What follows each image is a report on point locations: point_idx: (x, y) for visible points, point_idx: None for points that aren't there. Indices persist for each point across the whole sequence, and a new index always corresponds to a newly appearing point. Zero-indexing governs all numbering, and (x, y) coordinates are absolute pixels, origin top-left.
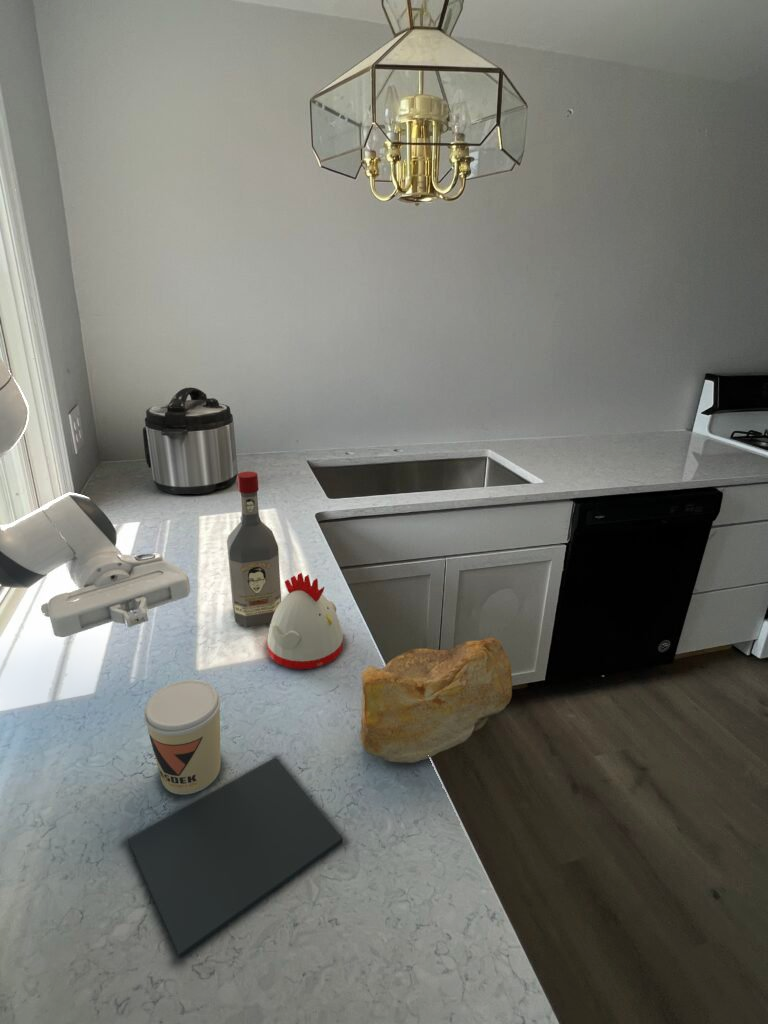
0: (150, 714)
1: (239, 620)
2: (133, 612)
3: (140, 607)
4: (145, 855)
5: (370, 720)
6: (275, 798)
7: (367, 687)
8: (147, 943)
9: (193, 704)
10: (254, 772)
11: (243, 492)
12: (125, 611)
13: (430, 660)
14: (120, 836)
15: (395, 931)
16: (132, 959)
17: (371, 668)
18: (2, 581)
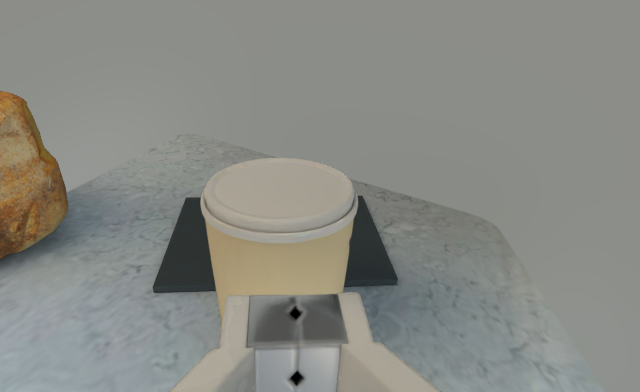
0: (346, 186)
1: None
2: (302, 318)
3: (238, 343)
4: (378, 256)
5: (50, 157)
6: (206, 245)
7: (25, 110)
8: (385, 214)
9: (263, 177)
10: (199, 281)
11: None
12: (352, 347)
13: None
14: (407, 295)
15: (213, 163)
16: (398, 211)
17: None
18: None
